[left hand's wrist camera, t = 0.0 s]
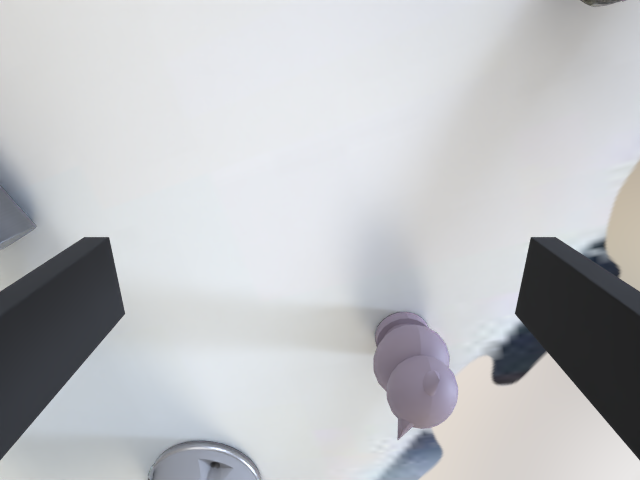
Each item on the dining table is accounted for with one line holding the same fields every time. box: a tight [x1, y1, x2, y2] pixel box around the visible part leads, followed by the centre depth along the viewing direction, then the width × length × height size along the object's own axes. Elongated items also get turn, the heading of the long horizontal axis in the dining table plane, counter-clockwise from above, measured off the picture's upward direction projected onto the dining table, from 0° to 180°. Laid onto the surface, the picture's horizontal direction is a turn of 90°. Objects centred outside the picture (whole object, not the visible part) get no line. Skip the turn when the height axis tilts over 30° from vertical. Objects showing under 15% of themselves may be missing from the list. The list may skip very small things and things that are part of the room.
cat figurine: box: [374, 312, 458, 440], centre depth 41 cm, size 9×8×12 cm
